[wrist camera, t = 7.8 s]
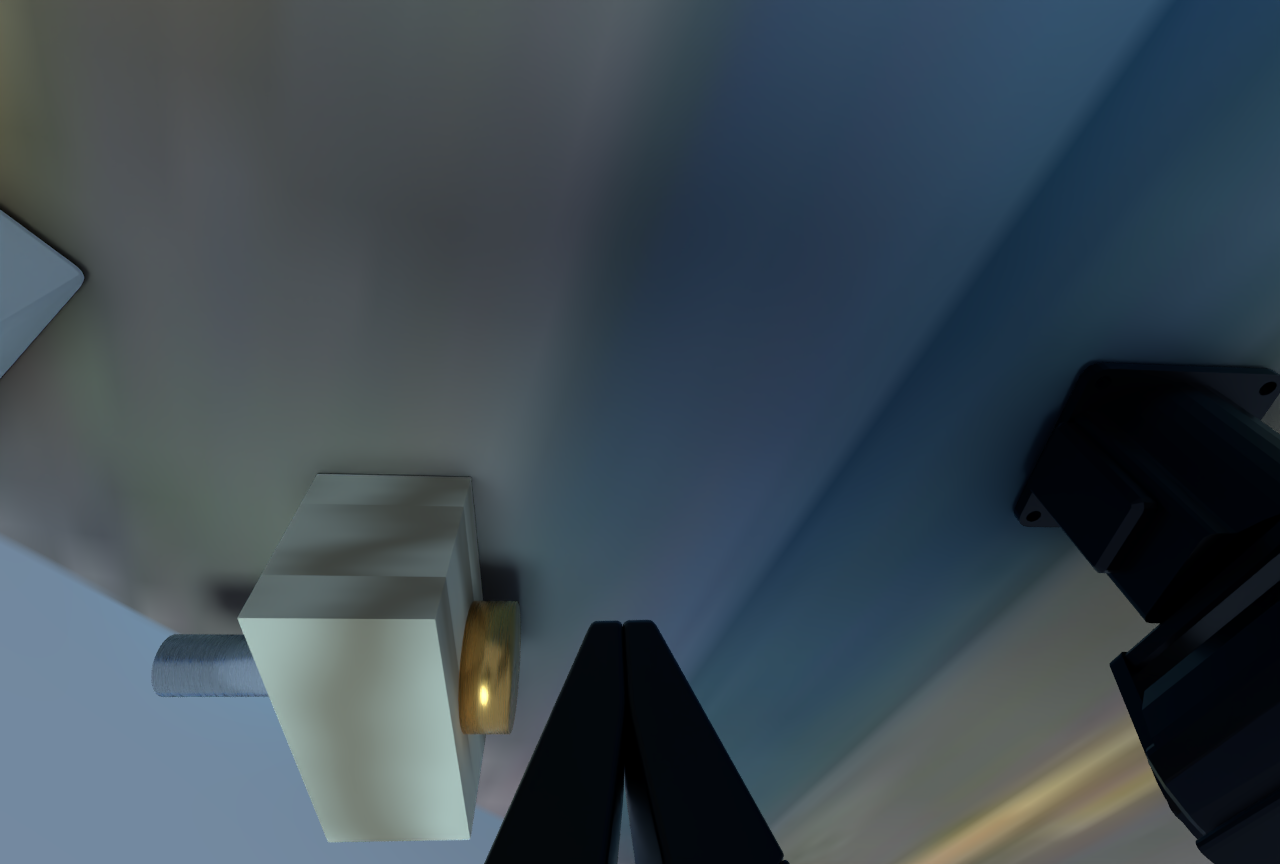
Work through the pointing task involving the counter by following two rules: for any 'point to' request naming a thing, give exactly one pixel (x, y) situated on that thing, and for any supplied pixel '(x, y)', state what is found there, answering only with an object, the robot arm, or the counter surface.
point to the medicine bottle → (29, 288)
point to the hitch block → (374, 653)
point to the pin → (233, 673)
